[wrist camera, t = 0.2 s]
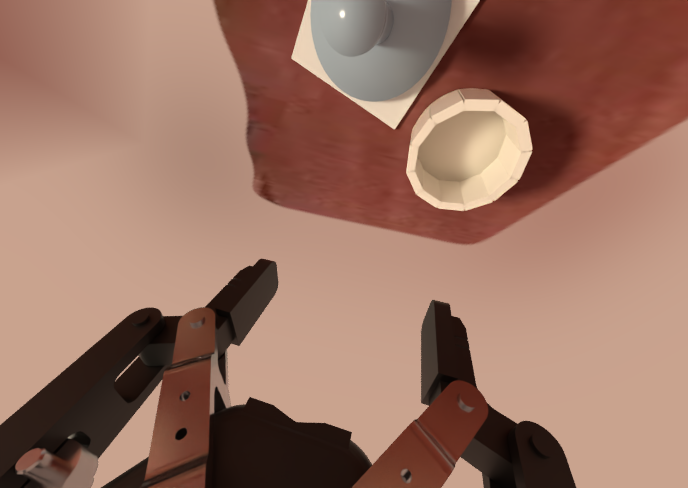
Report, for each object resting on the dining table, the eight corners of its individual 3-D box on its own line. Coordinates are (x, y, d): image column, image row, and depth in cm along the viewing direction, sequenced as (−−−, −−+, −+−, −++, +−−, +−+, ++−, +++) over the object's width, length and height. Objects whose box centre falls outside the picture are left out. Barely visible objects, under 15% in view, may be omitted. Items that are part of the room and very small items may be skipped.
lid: (354, -131, 17) (293, -275, 9) (485, -20, 19) (529, -62, 11) (297, 55, 25) (237, 64, 17) (393, 122, 27) (380, 159, 19)
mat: (352, -145, 17) (351, -148, 17) (495, -24, 19) (496, -25, 19) (292, 57, 26) (291, 58, 26) (394, 128, 28) (394, 129, 27)
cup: (456, 64, 23) (463, 71, 18) (536, 126, 24) (561, 145, 20) (392, 154, 29) (387, 175, 25) (458, 198, 31) (464, 226, 26)
